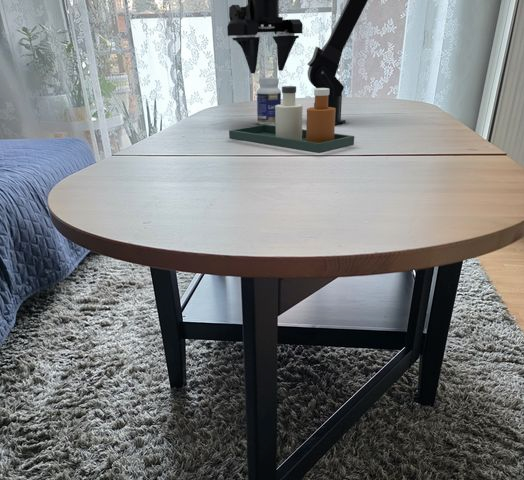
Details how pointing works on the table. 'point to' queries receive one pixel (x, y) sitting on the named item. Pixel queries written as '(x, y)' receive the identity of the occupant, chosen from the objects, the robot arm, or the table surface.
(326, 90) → the amber bottle
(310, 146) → the tray
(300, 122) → the white bottle
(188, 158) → the table surface
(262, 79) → the pill bottle
